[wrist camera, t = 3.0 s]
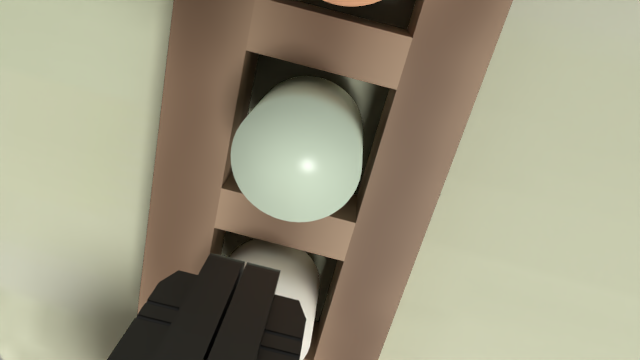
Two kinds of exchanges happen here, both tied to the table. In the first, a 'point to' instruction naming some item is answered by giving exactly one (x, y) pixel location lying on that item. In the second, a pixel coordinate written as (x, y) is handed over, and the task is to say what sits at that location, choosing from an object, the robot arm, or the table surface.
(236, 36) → the button board
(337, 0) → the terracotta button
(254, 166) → the sage button
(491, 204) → the table surface
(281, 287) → the cream button
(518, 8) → the table surface
